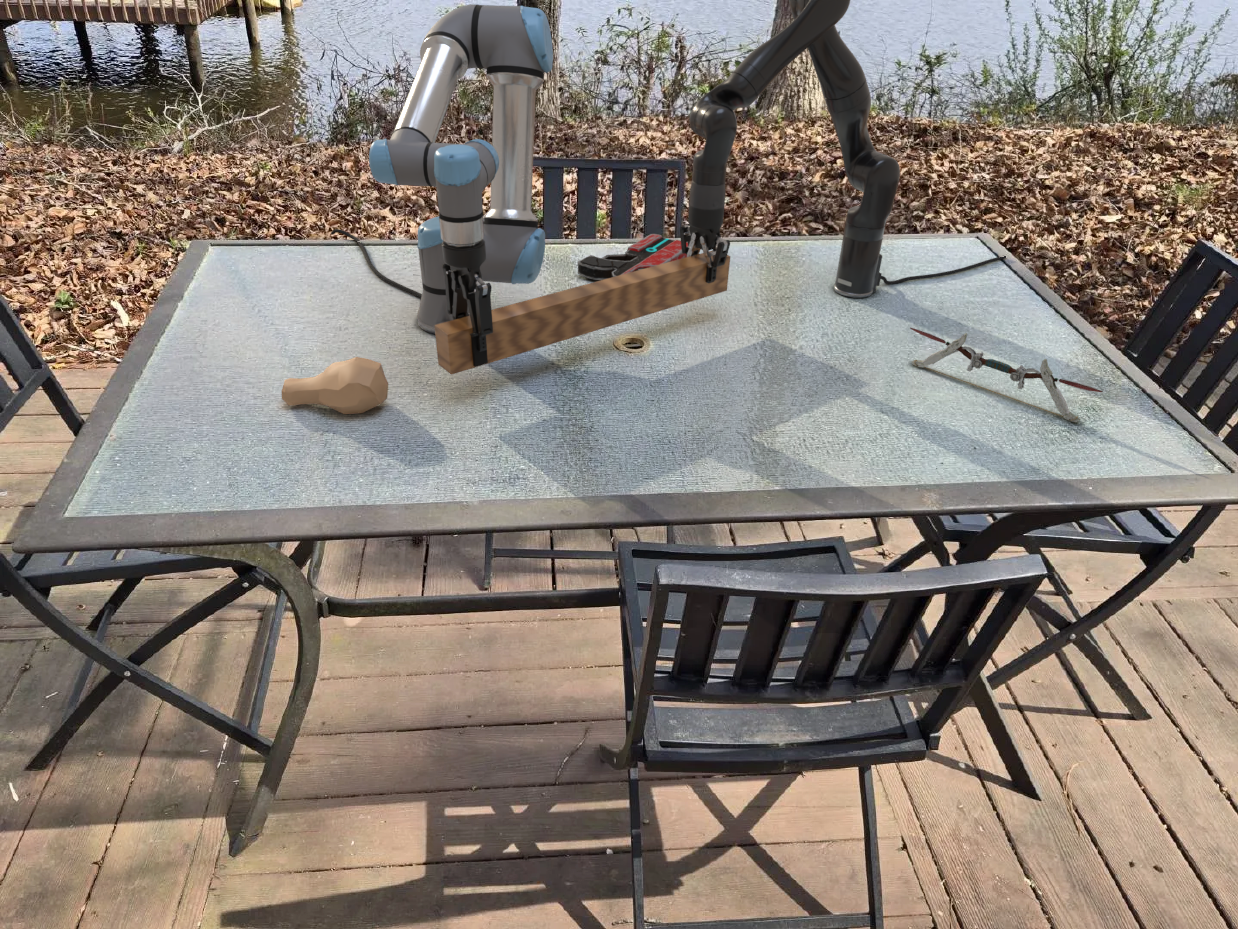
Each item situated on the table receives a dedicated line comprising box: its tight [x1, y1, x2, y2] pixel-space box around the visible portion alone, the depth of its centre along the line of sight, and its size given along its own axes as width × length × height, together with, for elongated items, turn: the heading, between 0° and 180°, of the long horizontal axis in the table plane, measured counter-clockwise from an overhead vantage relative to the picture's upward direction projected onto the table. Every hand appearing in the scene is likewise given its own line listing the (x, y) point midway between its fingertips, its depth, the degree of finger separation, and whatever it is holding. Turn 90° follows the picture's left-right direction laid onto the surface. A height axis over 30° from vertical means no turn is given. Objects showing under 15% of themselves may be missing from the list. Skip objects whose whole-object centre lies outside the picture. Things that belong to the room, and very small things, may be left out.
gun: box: [577, 233, 688, 281], centre depth 225 cm, size 4×31×19 cm
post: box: [434, 249, 731, 376], centre depth 180 cm, size 70×5×8 cm, turn 128°
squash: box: [281, 356, 389, 415], centre depth 163 cm, size 11×20×9 cm, turn 90°
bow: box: [909, 326, 1104, 423], centre depth 173 cm, size 39×2×10 cm, turn 47°
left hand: (472, 358), depth 166 cm, fingers closed on post, 5 cm apart
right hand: (701, 277), depth 195 cm, fingers closed on post, 5 cm apart
